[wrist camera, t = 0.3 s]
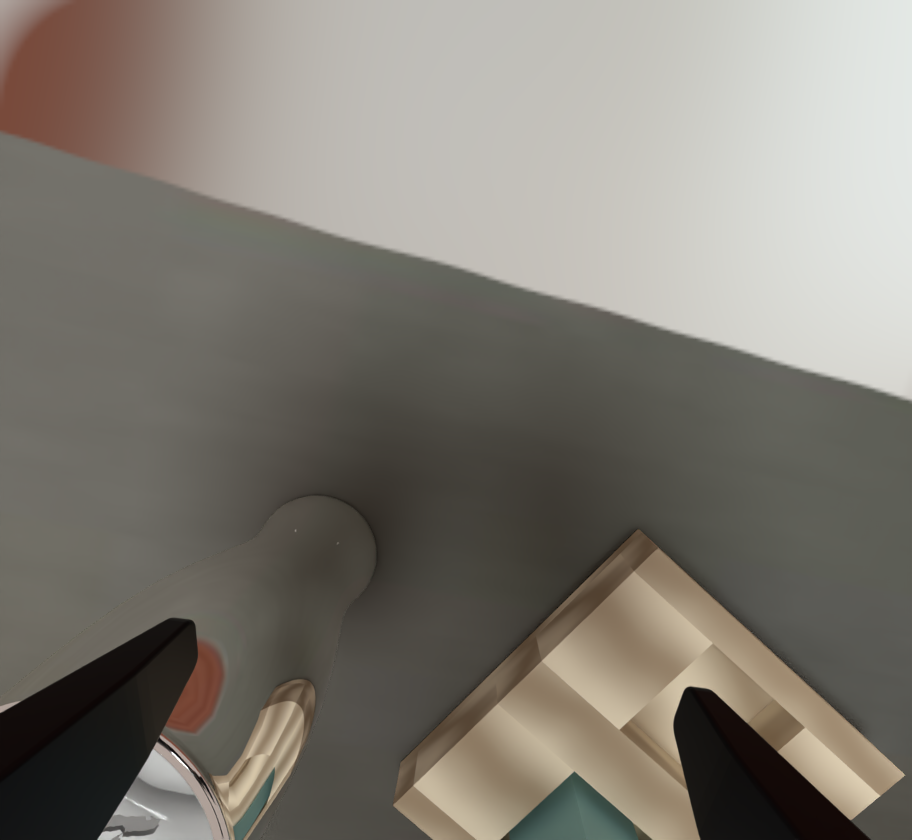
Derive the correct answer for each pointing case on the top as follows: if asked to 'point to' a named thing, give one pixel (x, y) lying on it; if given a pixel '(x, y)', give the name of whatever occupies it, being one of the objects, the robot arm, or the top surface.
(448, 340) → the top surface
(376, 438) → the top surface
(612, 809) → the teal block
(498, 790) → the pocket board
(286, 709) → the beer glass
